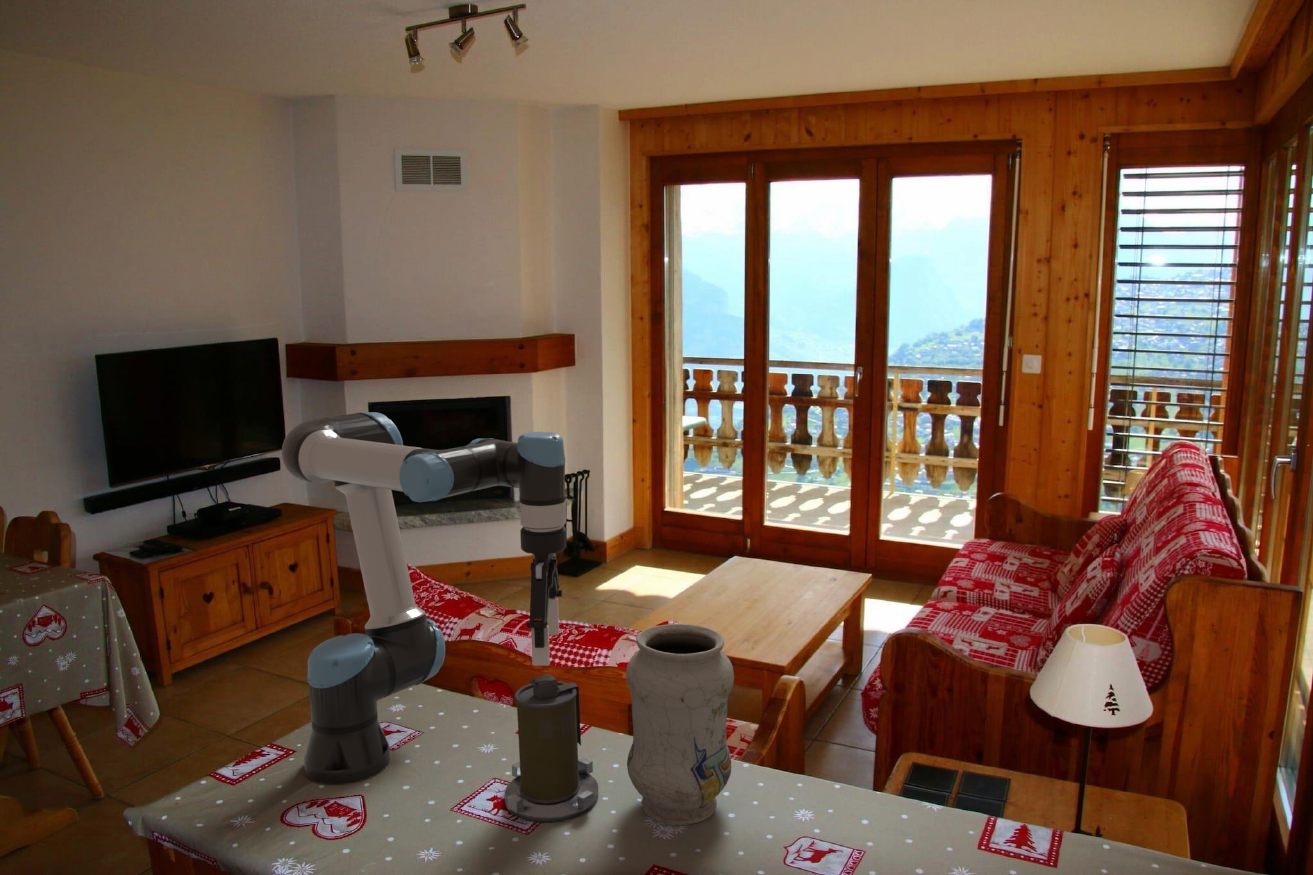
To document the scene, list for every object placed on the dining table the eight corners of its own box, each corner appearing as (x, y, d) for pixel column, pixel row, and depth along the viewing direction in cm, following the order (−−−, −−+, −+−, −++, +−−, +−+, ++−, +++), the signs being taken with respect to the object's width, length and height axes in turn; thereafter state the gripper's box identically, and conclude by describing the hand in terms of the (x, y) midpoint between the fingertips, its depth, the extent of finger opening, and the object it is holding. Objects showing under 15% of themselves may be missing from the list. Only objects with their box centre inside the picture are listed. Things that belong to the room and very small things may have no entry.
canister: (532, 810, 158) (527, 695, 155) (510, 783, 167) (505, 674, 164) (592, 792, 163) (588, 681, 160) (568, 767, 172) (563, 661, 169)
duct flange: (478, 801, 164) (477, 782, 164) (554, 762, 177) (553, 744, 177) (549, 838, 153) (548, 818, 152) (624, 793, 166) (624, 774, 165)
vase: (749, 791, 166) (749, 626, 161) (711, 846, 150) (710, 664, 145) (655, 771, 174) (653, 612, 169) (609, 820, 157) (605, 647, 153)
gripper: (530, 508, 170) (534, 622, 173) (508, 546, 145) (512, 678, 149) (573, 508, 170) (575, 622, 173) (557, 546, 145) (560, 678, 149)
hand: (546, 649), depth 161 cm, fingers open, 13 cm apart
